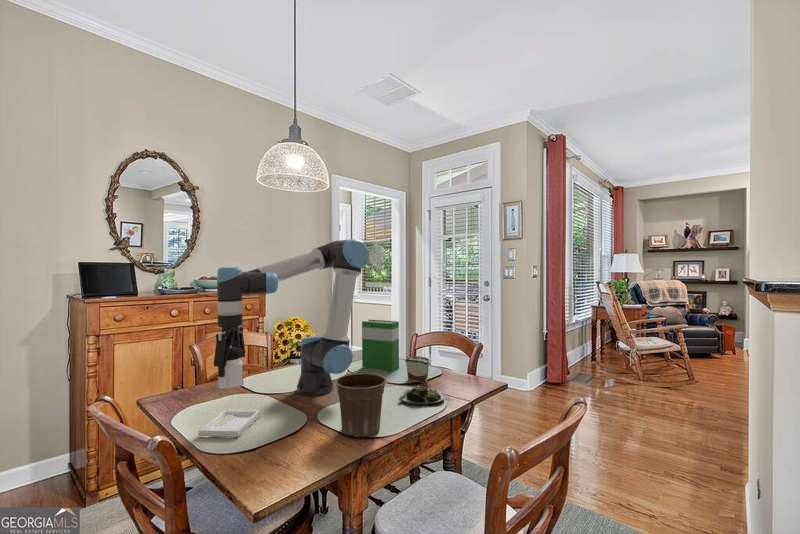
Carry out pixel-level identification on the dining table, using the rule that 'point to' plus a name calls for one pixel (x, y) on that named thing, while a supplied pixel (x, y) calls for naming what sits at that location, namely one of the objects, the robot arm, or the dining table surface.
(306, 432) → the dining table surface
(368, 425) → the plant pot
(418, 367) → the food container
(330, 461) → the dining table surface
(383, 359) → the cereal box
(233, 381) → the medicine bottle
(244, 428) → the tray
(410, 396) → the salad plate
